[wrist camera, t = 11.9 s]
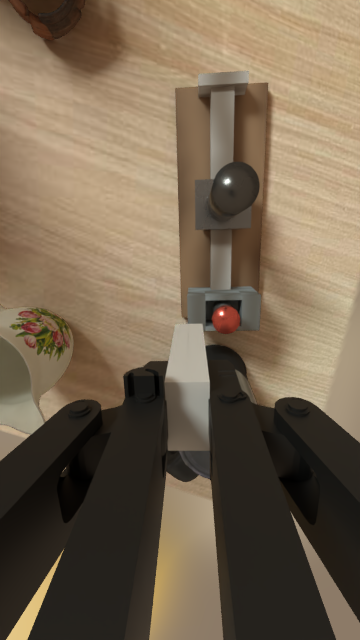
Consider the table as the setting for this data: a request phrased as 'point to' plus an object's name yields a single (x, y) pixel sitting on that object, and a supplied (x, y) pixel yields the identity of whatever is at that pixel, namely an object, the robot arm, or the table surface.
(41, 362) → the pitcher
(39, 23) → the broken pottery
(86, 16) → the table surface
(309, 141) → the table surface
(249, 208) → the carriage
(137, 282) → the table surface
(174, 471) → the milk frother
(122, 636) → the robot arm
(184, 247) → the rail base
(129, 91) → the table surface
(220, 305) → the red ball knob
